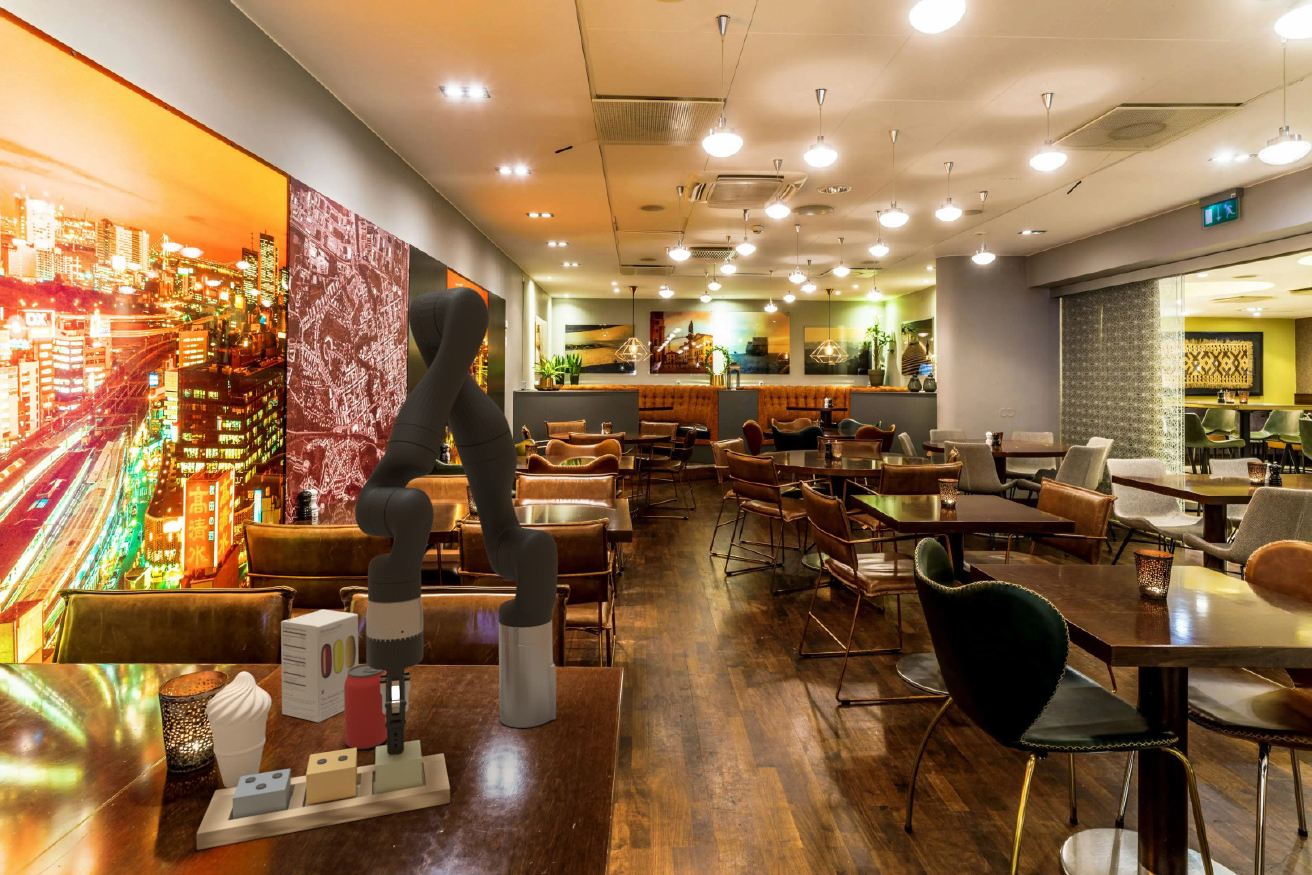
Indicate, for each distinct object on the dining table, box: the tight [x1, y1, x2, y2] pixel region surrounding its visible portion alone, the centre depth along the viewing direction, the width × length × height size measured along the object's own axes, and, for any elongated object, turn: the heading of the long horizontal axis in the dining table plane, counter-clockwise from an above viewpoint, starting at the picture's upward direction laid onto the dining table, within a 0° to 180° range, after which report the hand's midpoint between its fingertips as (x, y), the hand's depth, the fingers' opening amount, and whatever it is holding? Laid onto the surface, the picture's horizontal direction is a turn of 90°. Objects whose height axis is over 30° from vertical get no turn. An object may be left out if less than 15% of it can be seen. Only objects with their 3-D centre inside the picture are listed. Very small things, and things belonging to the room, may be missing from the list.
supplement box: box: [280, 609, 359, 723], centre depth 131 cm, size 10×9×17 cm
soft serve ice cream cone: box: [204, 671, 272, 789], centre depth 105 cm, size 8×8×16 cm
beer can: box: [344, 663, 387, 750], centre depth 118 cm, size 7×7×12 cm
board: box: [196, 752, 451, 850], centre depth 100 cm, size 30×11×2 cm, turn 111°
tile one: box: [374, 739, 423, 794], centre depth 102 cm, size 6×6×4 cm
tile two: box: [305, 747, 358, 804], centre depth 99 cm, size 6×6×4 cm
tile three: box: [233, 768, 292, 819], centre depth 96 cm, size 6×6×4 cm
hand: (395, 751), depth 102 cm, fingers closed
